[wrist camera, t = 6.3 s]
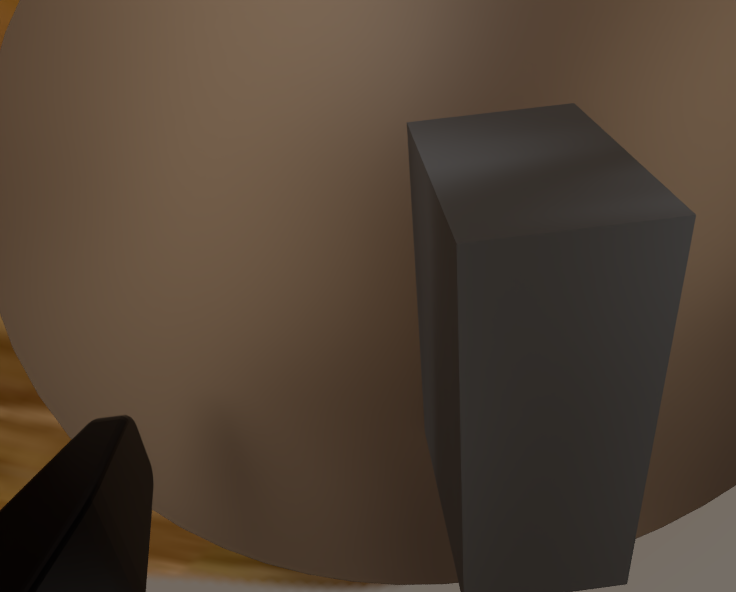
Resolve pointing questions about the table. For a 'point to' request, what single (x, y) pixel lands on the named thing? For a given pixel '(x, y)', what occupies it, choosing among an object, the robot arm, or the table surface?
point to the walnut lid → (385, 270)
